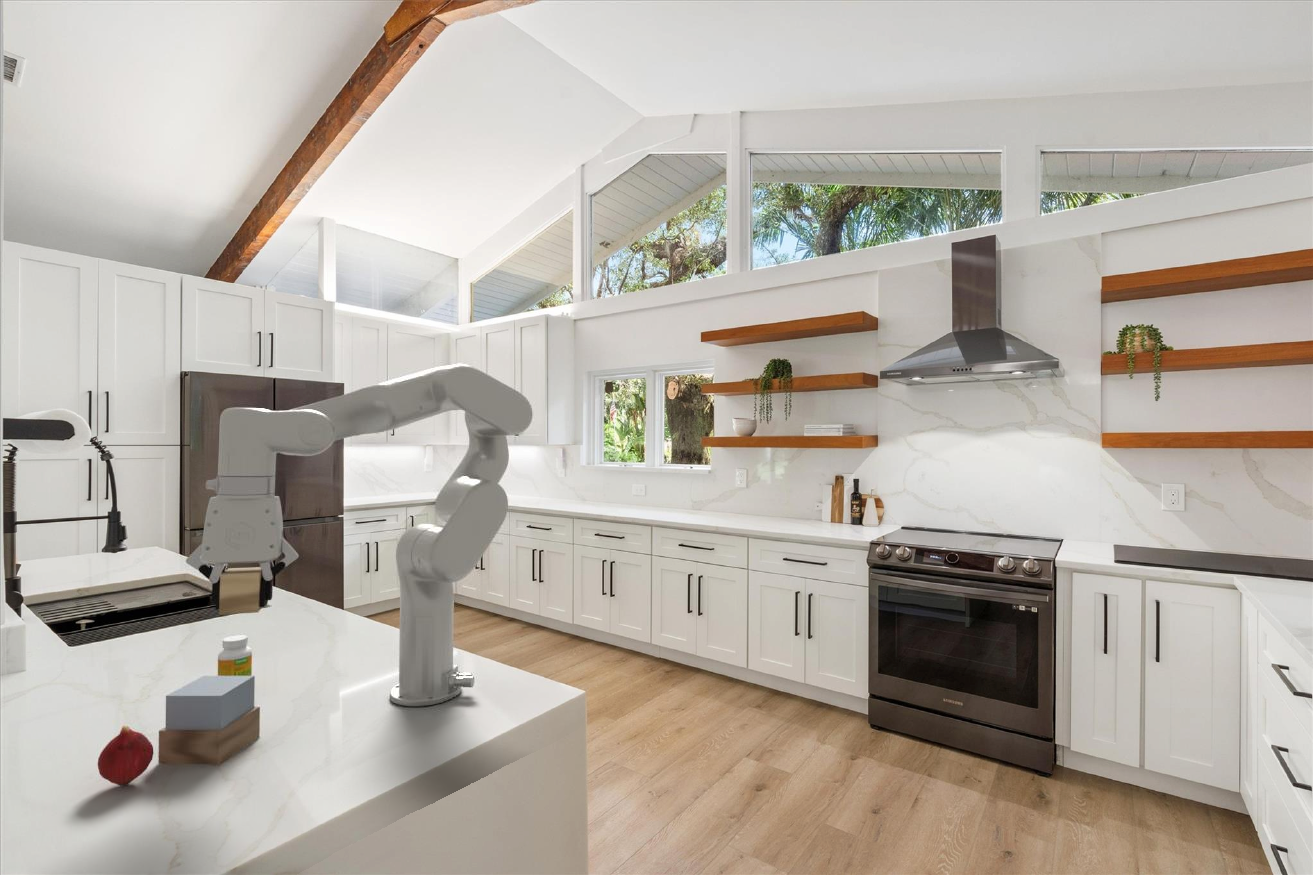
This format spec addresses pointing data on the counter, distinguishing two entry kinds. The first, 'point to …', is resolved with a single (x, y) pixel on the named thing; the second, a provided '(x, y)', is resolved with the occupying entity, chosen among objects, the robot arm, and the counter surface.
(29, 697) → the counter surface
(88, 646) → the counter surface
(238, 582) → the oak block
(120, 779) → the onion
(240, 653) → the supplement bottle
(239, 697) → the grey square block
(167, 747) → the tower base
